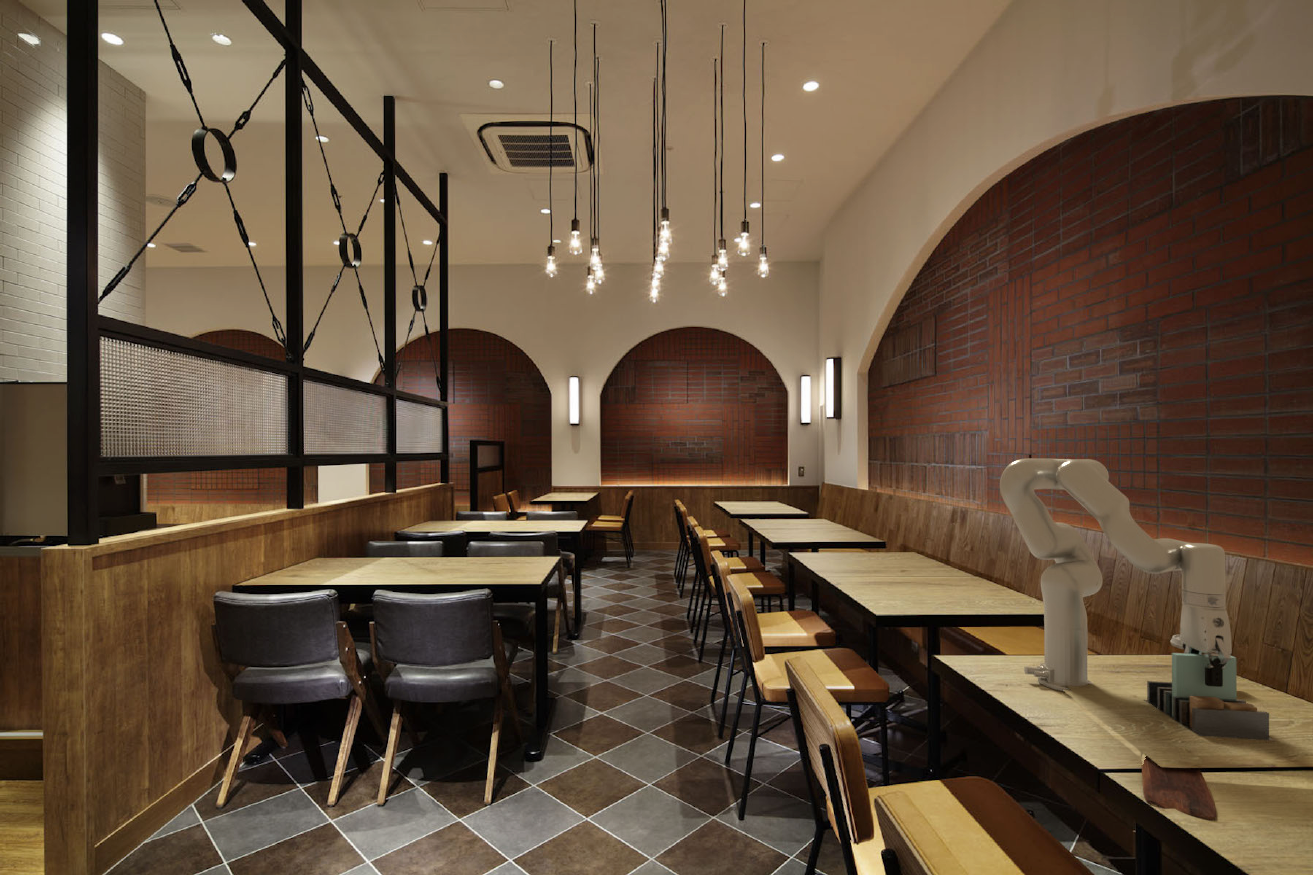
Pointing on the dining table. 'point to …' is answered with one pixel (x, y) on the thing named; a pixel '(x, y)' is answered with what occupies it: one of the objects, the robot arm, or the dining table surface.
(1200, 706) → the tall walnut offcut
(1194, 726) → the rack
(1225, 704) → the short walnut offcut
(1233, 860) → the dining table surface
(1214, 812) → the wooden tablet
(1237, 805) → the dining table surface
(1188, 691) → the teal sheet
